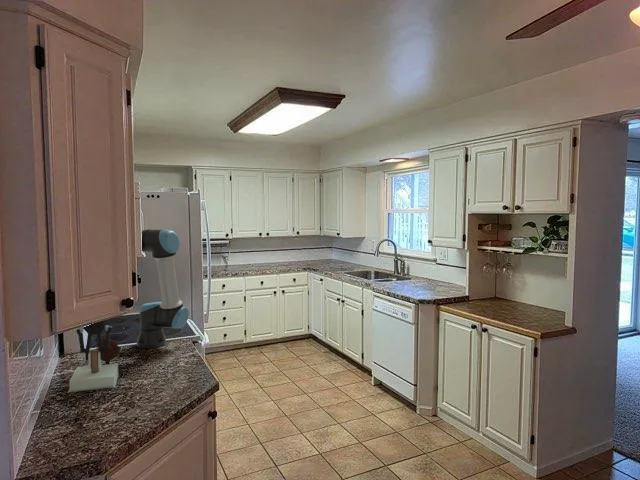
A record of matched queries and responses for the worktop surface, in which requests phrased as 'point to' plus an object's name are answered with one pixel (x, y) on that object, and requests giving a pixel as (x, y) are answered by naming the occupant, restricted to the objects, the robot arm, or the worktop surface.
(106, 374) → the white knobbed square piece
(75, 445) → the worktop surface
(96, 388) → the mat
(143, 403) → the worktop surface
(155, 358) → the worktop surface
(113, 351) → the ice cream bowl
